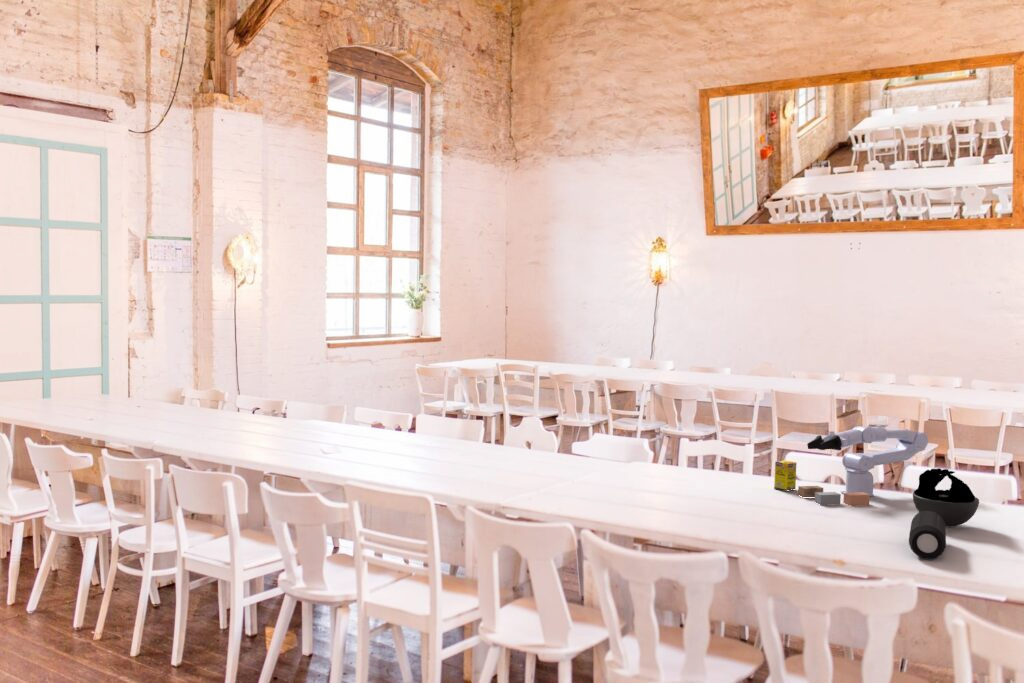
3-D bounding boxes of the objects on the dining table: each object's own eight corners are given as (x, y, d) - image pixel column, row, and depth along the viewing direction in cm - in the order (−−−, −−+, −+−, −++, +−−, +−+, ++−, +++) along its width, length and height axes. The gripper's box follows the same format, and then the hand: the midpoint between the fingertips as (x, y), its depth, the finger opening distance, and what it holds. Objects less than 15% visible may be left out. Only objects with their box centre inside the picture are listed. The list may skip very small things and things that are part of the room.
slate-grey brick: (834, 502, 342) (834, 491, 342) (840, 505, 338) (840, 494, 338) (814, 503, 341) (814, 492, 340) (820, 505, 337) (820, 495, 336)
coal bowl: (921, 515, 324) (923, 462, 323) (984, 525, 311) (987, 470, 310) (903, 526, 308) (906, 470, 307) (969, 537, 296) (971, 478, 295)
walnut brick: (817, 496, 353) (817, 485, 353) (822, 498, 349) (823, 488, 349) (798, 496, 351) (798, 486, 351) (803, 499, 347) (803, 488, 347)
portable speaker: (945, 564, 266) (946, 529, 266) (907, 559, 270) (909, 525, 270) (945, 542, 289) (946, 511, 289) (910, 538, 294) (912, 507, 293)
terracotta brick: (862, 503, 343) (863, 492, 343) (869, 505, 339) (869, 494, 339) (843, 503, 341) (843, 492, 341) (849, 506, 337) (850, 495, 337)
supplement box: (787, 491, 359) (788, 463, 358) (773, 489, 363) (774, 461, 363) (795, 490, 362) (797, 462, 362) (782, 487, 367) (783, 459, 366)
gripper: (829, 428, 359) (800, 435, 355) (854, 428, 346) (825, 435, 341) (832, 447, 359) (804, 454, 354) (858, 447, 346) (829, 454, 341)
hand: (814, 446), depth 348 cm, fingers open, 7 cm apart
